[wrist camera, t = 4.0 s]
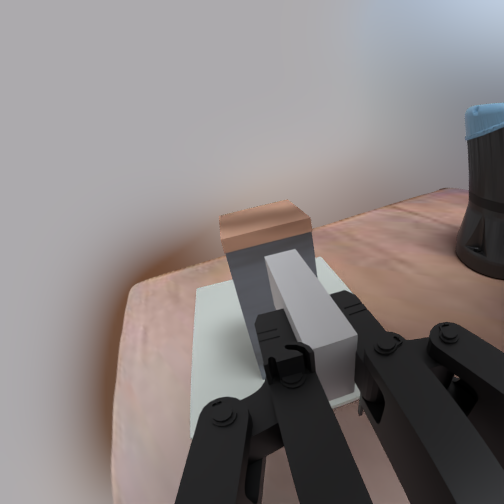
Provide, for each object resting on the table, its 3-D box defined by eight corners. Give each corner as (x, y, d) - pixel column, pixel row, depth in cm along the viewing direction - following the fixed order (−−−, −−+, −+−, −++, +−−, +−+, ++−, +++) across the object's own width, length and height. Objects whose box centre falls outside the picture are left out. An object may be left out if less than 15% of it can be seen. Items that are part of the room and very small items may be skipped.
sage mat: (197, 291, 43) (196, 288, 43) (320, 259, 44) (320, 256, 43) (192, 440, 19) (189, 437, 19) (414, 374, 20) (415, 370, 20)
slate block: (253, 339, 29) (218, 216, 24) (307, 325, 29) (287, 199, 24) (262, 380, 24) (220, 239, 18) (325, 362, 24) (310, 217, 18)
